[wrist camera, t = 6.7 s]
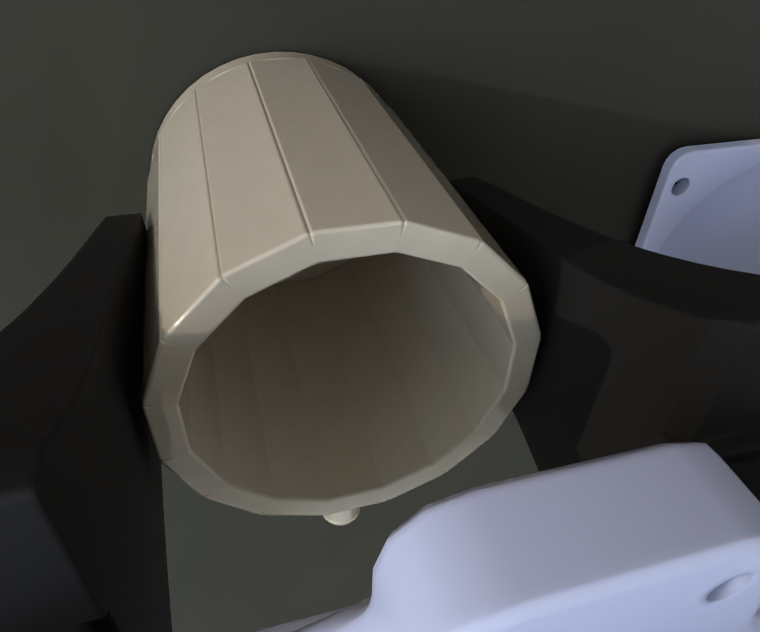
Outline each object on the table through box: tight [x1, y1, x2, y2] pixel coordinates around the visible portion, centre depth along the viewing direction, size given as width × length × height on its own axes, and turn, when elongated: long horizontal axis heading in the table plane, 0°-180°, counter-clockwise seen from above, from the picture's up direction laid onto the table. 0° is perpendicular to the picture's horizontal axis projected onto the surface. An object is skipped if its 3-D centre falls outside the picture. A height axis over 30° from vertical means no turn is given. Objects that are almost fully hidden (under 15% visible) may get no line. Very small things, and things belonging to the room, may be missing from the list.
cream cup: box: [142, 52, 541, 526], centre depth 12 cm, size 8×6×7 cm
